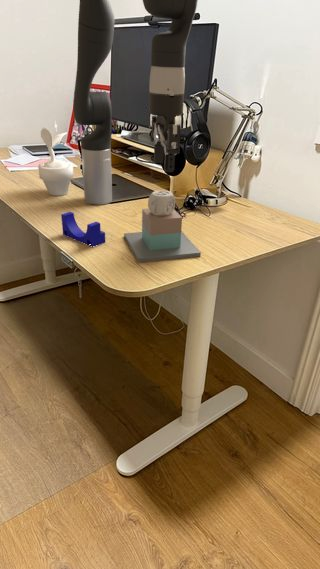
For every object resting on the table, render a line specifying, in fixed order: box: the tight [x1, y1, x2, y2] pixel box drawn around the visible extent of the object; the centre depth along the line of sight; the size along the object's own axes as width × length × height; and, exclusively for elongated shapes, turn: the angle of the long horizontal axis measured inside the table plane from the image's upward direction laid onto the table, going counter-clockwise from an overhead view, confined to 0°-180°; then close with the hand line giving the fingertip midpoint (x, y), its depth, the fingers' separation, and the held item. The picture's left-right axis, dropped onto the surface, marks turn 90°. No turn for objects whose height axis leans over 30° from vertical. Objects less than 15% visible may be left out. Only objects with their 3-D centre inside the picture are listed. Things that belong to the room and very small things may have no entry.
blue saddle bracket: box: [60, 211, 106, 248], centre depth 105 cm, size 12×4×6 cm, turn 50°
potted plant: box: [37, 120, 74, 197], centre depth 134 cm, size 13×12×25 cm
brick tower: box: [123, 208, 202, 263], centre depth 102 cm, size 16×16×9 cm
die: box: [147, 190, 176, 216], centre depth 98 cm, size 5×5×5 cm
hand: (163, 166), depth 94 cm, fingers open, 8 cm apart
